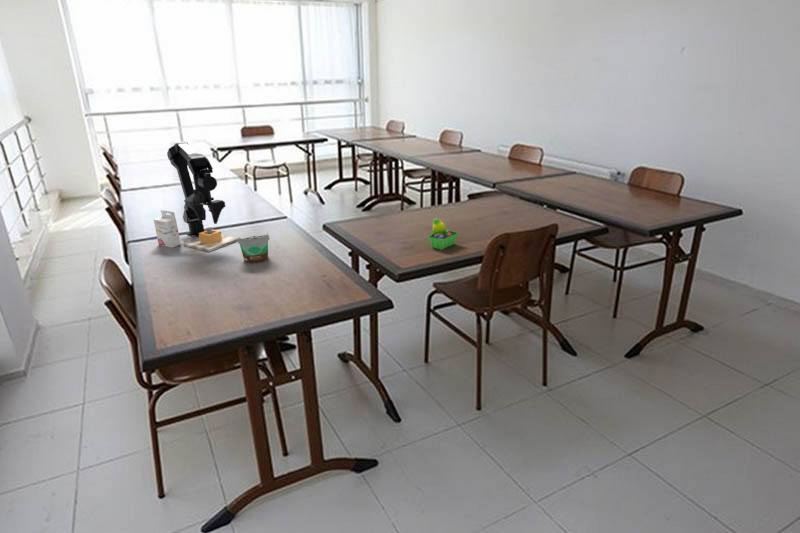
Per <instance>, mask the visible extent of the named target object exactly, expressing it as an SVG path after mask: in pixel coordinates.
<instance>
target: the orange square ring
mask: <svg viewBox="0 0 800 533" xmlns="http://www.w3.org/2000/svg"><path fill="white" fill-rule="evenodd" d="M212 230H213V233H212V234H207V230H204V232H201V233H199V235H198V236H199V237H198V238H200V242H202V243H207V244H213V243H215V242H218V241H221V240H222V236H221V235H222V231H221V230H216V229H212Z"/></svg>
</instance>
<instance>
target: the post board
mask: <svg viewBox="0 0 800 533" xmlns="http://www.w3.org/2000/svg"><path fill="white" fill-rule="evenodd" d="M213 230H214V229H213V228H212V227H211V226H210V227H209V226H208V227H206V229H205V231H207V234H212V233H213ZM221 236H222V240H221V241H218V242H215V243H213V244H207V243H202V242H200V237H198V238H195V239H193V240H189V241H187V242H184V243H183V246H185V247H188V248H192V249H196V250H200V251H205V252H212V251H215V250H217V249H220V247H221V248H223V247H225V245H226V246H229V245H231V244H234V243H236V242H238V237H234V236H233V237H232V236H227V235H224V234H221Z"/></svg>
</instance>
